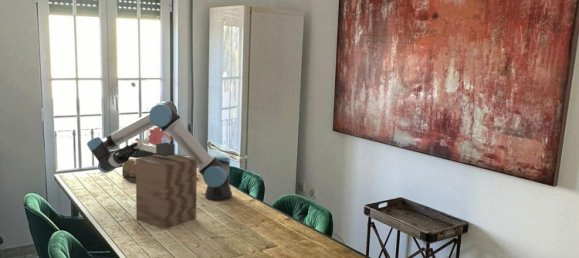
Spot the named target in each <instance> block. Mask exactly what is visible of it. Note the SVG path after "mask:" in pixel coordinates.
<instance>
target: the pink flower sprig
mask: <svg viewBox="0 0 579 258" xmlns="http://www.w3.org/2000/svg"><path fill="white" fill-rule="evenodd" d="M164 136H165V138H167V140H169V141H171V142H172V141H173V138H172V137H171V136H170V134H169V133H167V132H163V131H162V130H161V129H160V128H159V127H158V126H154V127H153V129H152V128H150V129H149V135H148V137H147V138H148V141H149V144H153V145H156V144H160V143H163V138H164ZM140 139H141V138H138V137H136V138H135V139H134V141H138V140H140ZM152 153H153V152H152ZM153 155H155V153H153V154H152V156H153Z"/></svg>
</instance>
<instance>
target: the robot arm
mask: <svg viewBox="0 0 579 258" xmlns="http://www.w3.org/2000/svg"><path fill="white" fill-rule="evenodd" d="M181 121H182V120H181V116H179V114H178V108H177V106H176V105H175V103H173V102H171V101H168V100H163V101H161V102H159V103H155V104H154V105H153V106H152V107H151V108H150V110H149V113H147V114H145V115H143V116H142V117H140V118H138V119H137V118H136V120H134V121H131V122H130V123H129V124H126V125H124V126H123V127H121V128H119V129H117V130H115V131H114V132H112V133H110V134H108V135H106V136H103V138H101V137H100V136H98V135H97V136H96V137H93V138H92V139H90V140H88V141H87V143H86V145H87V148H88V149H89V150H90V152H91V153H92V154H93V155H94V157H95V158H96V160H97V161H98V164H97V165H98V166H97V167H98V170H99V172H101V173H104V174H108V173H111V172H113V171H115V169H117V168H120V166H121V165H123V164H125V163H127V162H128V161H129V160H130V157H131V156H132V155H134V154H138V153H139V152H141V151H142V150H141V149H136V148H138V147H139V146H141V145H142V144H143V142H144V143H149V141H148V140H149V138H148V137H146V138H144V139H142V138H139V139H140V140H138V141H137V142H135V143H134V144H133V145H132V143H131V144H130V145H125V146H123V148H118V149H117V150H115V151H113V152H112V153H111V150H113V149H114V148H117V147H118V146H120V145H122V144H124V143H126V142H128V141H129V140H131V139H133V138H135V137H136V136H139V135H140V134H142V133H145V132H146V131H148V130H151V129H152V128H155V127H159V128H160V131H161V130H162V131H163V132H164V133H166V134H168V135H169V136H170V138H171V139H172V140H174V142H176V144H178V146H179V147H180V148H181V149H182V150H183V151H184V153H185V154H186V155H187V157H190V158H195V159H197V172H198V173H199V174H200V175H201V176H202V179H203V182H204V183H205V184H206V185H207V187H206V190H205V192H204V197H205V199H207V200H211V201H225V200H230V199H232V198H233V192H232V190H231V184H230V164H231V159H230V158H229V157H227V156H212V155H210V153H208V152H207V150H206V149H205V148H204V147H203V146H202V145H201V144H200V143H199V141H198V140H197V139H196V138H195V137H194V135H192V133H191V132H190V131H189V130H188V128H186V127H185V125H184V124H183V123H182V122H181ZM149 144H150V143H149Z"/></svg>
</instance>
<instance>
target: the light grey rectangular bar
mask: <svg viewBox="0 0 579 258" xmlns="http://www.w3.org/2000/svg"><path fill="white" fill-rule="evenodd" d="M135 142H137V141H135V140H134V141H132V142H131V144H132V145H133V144H134V143H135ZM175 147H176V146H175V144H174V143H169V142H162V143H158V144H156V145H153V144H150V143H144V142H143V144H142V145H141V146H139V147H138V148H136V149H141V151H145V152H149V153H154V154H155V155H161V156H170V155H174V154H176V153H175V150H176V149H175Z"/></svg>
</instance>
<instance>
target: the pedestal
mask: <svg viewBox="0 0 579 258" xmlns="http://www.w3.org/2000/svg"><path fill="white" fill-rule="evenodd" d="M135 172H136V173H135V178H136V179H135V185H136V186H135V187H136V188H135V191H136V193H135V198H136V199H135V203H136V204H135V206H136V208H135V209H136V212H135V213H136V215H135V218H136V220H137V221H140V222H142V223H146V224H148V225H151V226H153V227H156V228H159V229H163V230H166V229H170V228H172V227H175V226H178V225H181V224H183V223H187V222H190V221H194V220H195V219H197V185H198V184H197V180H198V179H197V175H198V173H197V172H198V166H197V159H195V158H190V157H189V156H186V155H181V154H177V153H174V155H170V156H161V155H157V154H154V155H153V154H152V155H148V156H144V157H143V156H142V157H137V158H136V159H135Z"/></svg>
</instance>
